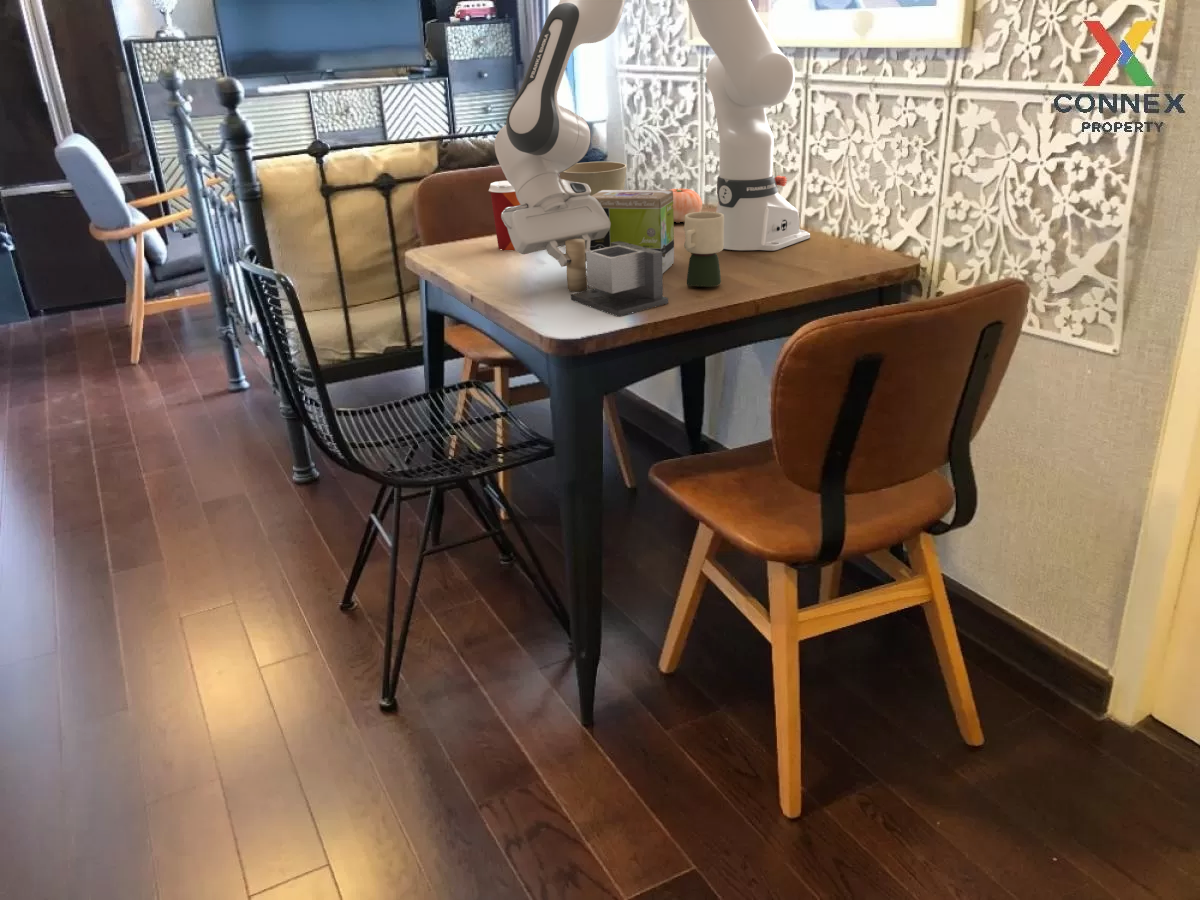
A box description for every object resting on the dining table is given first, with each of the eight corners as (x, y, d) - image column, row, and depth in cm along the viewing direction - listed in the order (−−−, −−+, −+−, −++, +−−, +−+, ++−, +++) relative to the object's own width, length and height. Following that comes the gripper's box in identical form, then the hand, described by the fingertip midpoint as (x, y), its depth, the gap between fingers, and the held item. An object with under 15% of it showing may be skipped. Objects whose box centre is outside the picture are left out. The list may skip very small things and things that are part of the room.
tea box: (675, 263, 188) (674, 188, 182) (661, 276, 180) (661, 198, 173) (604, 260, 193) (602, 187, 187) (588, 272, 184) (585, 196, 178)
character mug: (704, 277, 178) (704, 208, 172) (736, 282, 174) (737, 211, 168) (670, 290, 171) (670, 218, 165) (703, 296, 166) (703, 222, 161)
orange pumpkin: (710, 219, 226) (711, 185, 222) (685, 227, 218) (685, 193, 215) (673, 215, 232) (673, 182, 229) (648, 223, 224) (647, 189, 221)
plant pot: (588, 229, 220) (585, 160, 213) (640, 235, 212) (639, 163, 205) (549, 242, 209) (544, 169, 202) (603, 249, 201) (600, 173, 195)
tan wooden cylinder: (579, 285, 176) (577, 237, 172) (590, 289, 173) (588, 240, 170) (563, 288, 174) (561, 240, 170) (575, 292, 171) (572, 244, 168)
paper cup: (523, 252, 202) (518, 186, 196) (489, 251, 204) (483, 186, 198) (532, 243, 209) (528, 179, 203) (499, 243, 211) (494, 179, 205)
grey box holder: (619, 288, 173) (617, 239, 169) (668, 303, 163) (667, 252, 159) (570, 299, 167) (568, 249, 164) (618, 316, 157) (616, 263, 153)
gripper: (502, 198, 166) (536, 262, 163) (595, 183, 177) (628, 242, 174) (492, 220, 171) (524, 282, 168) (582, 203, 182) (614, 262, 179)
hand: (578, 262), depth 171 cm, fingers closed on tan wooden cylinder, 4 cm apart
